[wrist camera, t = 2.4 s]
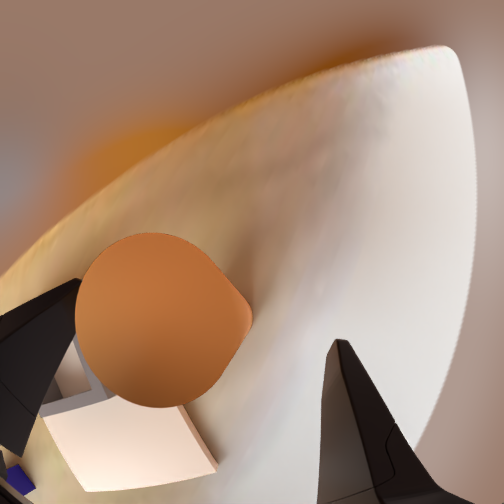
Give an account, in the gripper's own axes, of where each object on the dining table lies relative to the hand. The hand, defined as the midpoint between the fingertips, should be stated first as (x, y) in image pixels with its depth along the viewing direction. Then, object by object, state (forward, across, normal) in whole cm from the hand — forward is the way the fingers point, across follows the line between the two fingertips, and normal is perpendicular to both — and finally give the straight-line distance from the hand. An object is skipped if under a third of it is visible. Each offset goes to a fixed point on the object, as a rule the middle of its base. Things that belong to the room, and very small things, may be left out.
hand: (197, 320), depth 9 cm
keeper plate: (0, +8, +11) cm, 14 cm away
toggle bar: (+6, 0, +6) cm, 8 cm away
